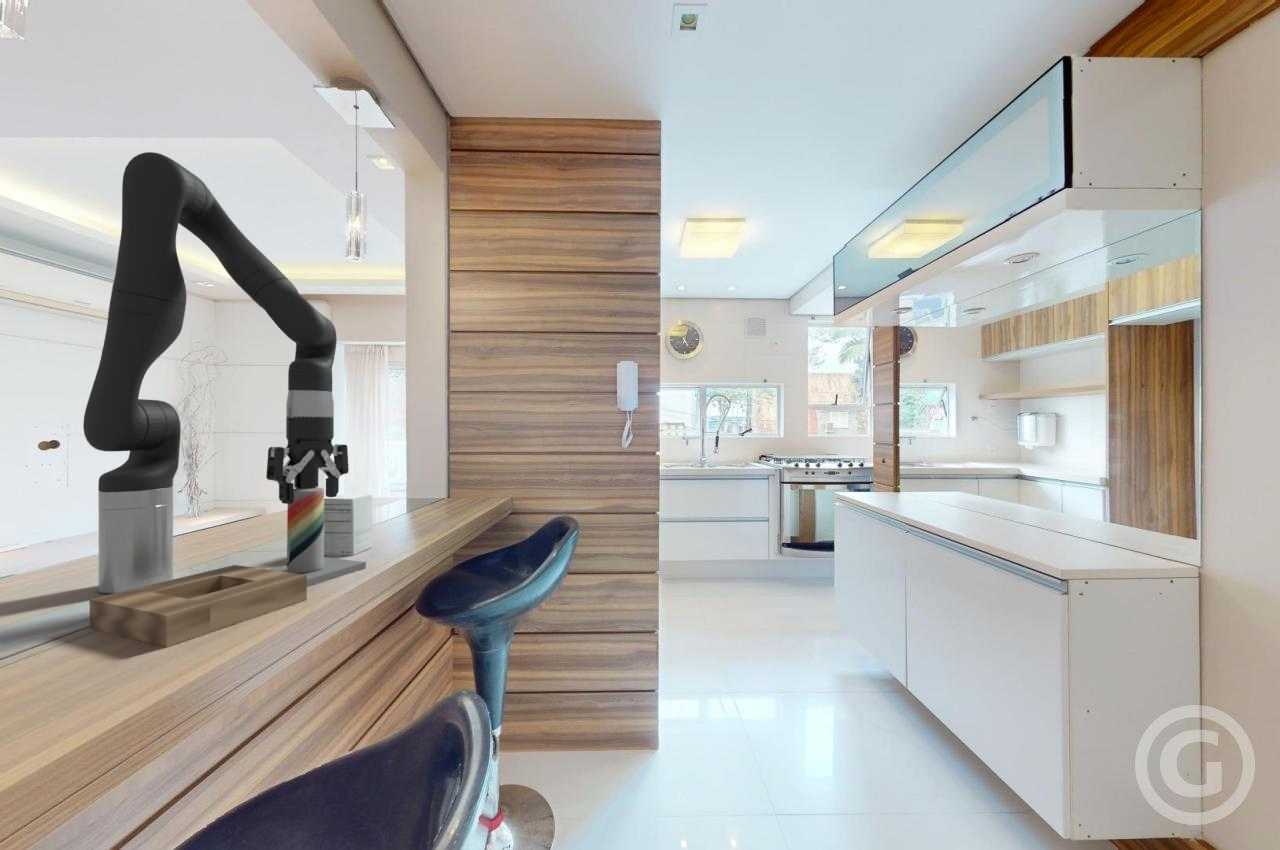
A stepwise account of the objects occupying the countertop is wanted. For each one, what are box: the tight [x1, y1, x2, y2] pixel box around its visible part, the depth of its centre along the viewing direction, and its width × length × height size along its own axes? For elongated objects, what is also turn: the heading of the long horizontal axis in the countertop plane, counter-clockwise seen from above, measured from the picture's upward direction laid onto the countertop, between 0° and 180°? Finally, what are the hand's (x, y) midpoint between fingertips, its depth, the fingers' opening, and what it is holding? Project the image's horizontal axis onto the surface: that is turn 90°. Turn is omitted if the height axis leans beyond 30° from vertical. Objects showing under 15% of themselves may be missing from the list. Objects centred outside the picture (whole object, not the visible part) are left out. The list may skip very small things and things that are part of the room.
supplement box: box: [324, 493, 373, 556], centre depth 110 cm, size 7×7×13 cm
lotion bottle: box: [286, 465, 325, 574], centre depth 91 cm, size 6×6×20 cm
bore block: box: [89, 564, 308, 648], centre depth 73 cm, size 18×18×4 cm
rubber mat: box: [268, 556, 367, 587], centre depth 93 cm, size 13×13×1 cm
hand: (310, 500), depth 93 cm, fingers open, 8 cm apart
